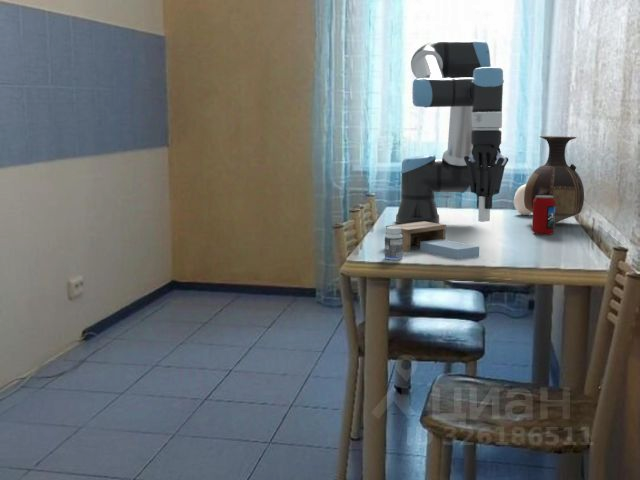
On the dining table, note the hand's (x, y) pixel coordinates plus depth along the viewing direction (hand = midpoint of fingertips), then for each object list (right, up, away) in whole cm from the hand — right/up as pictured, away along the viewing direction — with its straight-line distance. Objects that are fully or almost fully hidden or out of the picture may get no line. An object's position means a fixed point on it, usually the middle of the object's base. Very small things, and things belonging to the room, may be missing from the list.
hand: (484, 221), depth 197 cm
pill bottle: (-23, -10, +5) cm, 26 cm away
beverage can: (+28, -3, +43) cm, 51 cm away
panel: (-7, -9, +12) cm, 16 cm away
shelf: (-15, -7, +22) cm, 27 cm away
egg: (+34, +4, +85) cm, 92 cm away
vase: (+37, 0, +62) cm, 72 cm away
